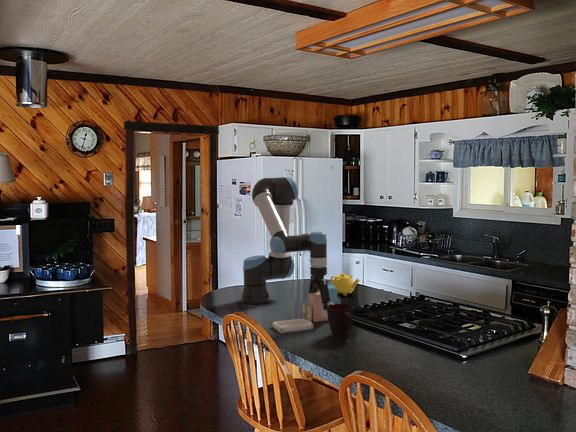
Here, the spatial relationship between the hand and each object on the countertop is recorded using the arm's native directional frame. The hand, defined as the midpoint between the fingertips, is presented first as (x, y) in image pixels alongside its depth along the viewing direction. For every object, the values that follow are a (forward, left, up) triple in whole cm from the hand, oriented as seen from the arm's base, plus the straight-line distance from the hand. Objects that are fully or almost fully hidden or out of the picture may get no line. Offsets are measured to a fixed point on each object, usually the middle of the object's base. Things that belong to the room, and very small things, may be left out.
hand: (319, 313), depth 260 cm
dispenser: (0, 0, -3) cm, 3 cm away
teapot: (-43, +34, -3) cm, 55 cm away
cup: (+28, -2, -3) cm, 28 cm away
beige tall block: (0, 0, -3) cm, 3 cm away
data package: (-14, +11, -3) cm, 18 cm away
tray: (+8, -16, -3) cm, 18 cm away
